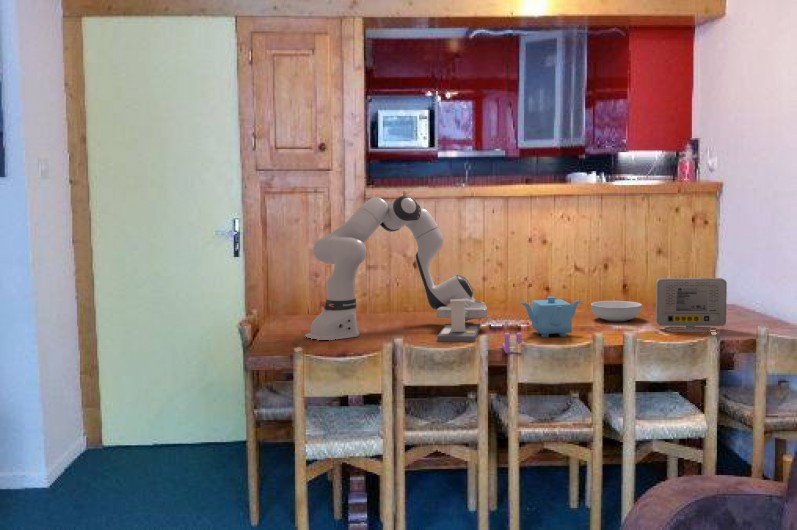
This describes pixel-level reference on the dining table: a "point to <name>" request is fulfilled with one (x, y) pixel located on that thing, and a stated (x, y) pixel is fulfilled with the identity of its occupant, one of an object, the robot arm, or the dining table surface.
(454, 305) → the switch tab
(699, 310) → the network device
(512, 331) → the dining table surface
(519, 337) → the bracket
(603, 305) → the serving bowl
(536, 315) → the teakettle
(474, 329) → the switch panel
